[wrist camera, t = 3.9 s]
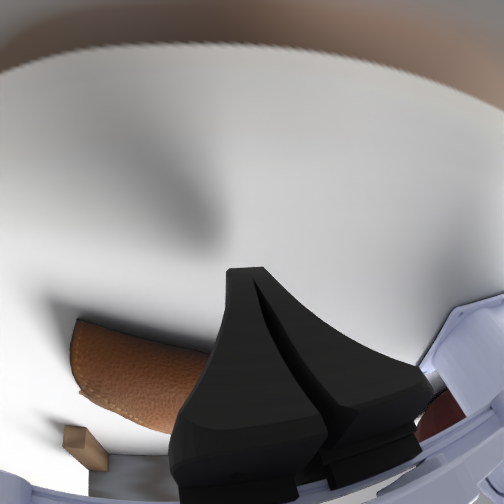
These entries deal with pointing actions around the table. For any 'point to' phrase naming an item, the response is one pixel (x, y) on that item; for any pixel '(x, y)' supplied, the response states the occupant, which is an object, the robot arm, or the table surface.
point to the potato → (439, 416)
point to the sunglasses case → (134, 374)
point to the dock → (121, 471)
